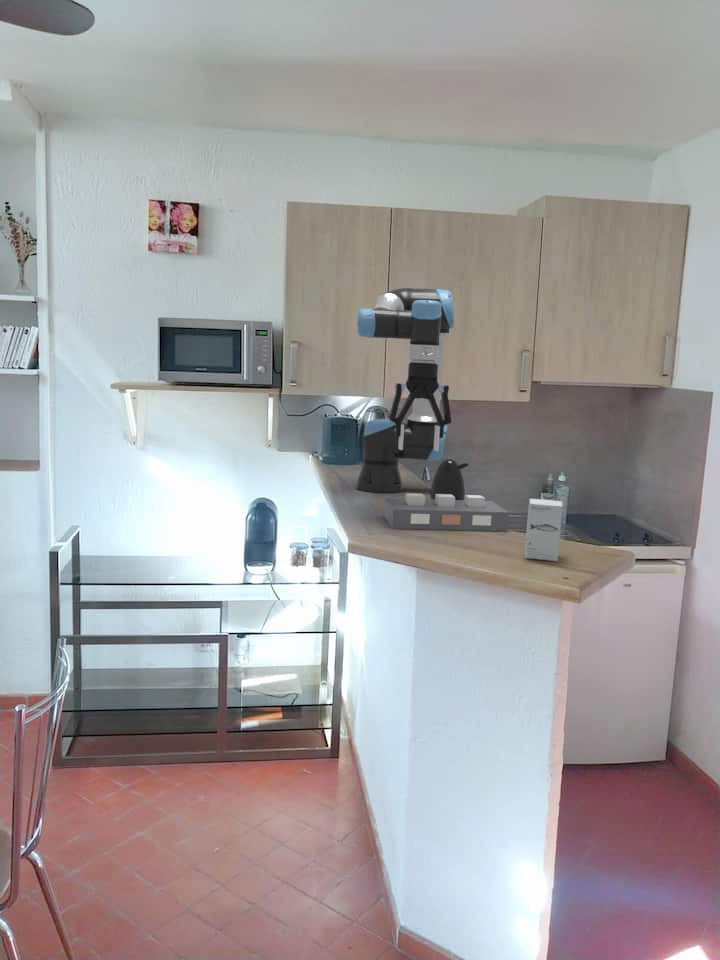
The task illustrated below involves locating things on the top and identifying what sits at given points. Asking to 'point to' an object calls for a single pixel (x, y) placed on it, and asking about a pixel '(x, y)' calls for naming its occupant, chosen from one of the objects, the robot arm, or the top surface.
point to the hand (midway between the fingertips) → (418, 449)
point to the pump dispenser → (449, 480)
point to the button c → (474, 501)
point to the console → (444, 516)
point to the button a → (414, 499)
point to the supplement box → (543, 529)
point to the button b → (444, 500)
